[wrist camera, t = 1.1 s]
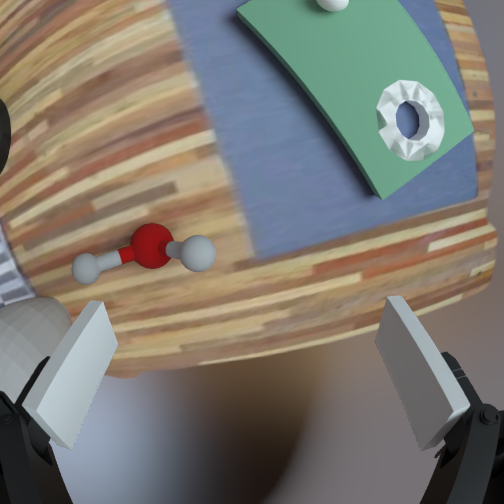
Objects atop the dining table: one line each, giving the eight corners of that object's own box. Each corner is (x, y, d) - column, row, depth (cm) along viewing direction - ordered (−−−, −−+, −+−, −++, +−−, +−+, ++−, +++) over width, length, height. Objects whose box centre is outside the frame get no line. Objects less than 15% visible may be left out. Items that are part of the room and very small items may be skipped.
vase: (86, 363, 48) (39, 462, 26) (19, 315, 44) (-44, 398, 21) (107, 309, 42) (37, 435, 19) (27, 251, 38) (-68, 341, 15)
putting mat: (237, 16, 25) (236, 9, 23) (348, -38, 20) (354, -46, 18) (374, 195, 34) (382, 200, 32) (463, 128, 30) (474, 130, 27)
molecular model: (219, 206, 35) (208, 237, 26) (227, 247, 37) (220, 290, 28) (97, 228, 36) (59, 260, 27) (109, 263, 38) (77, 302, 29)
